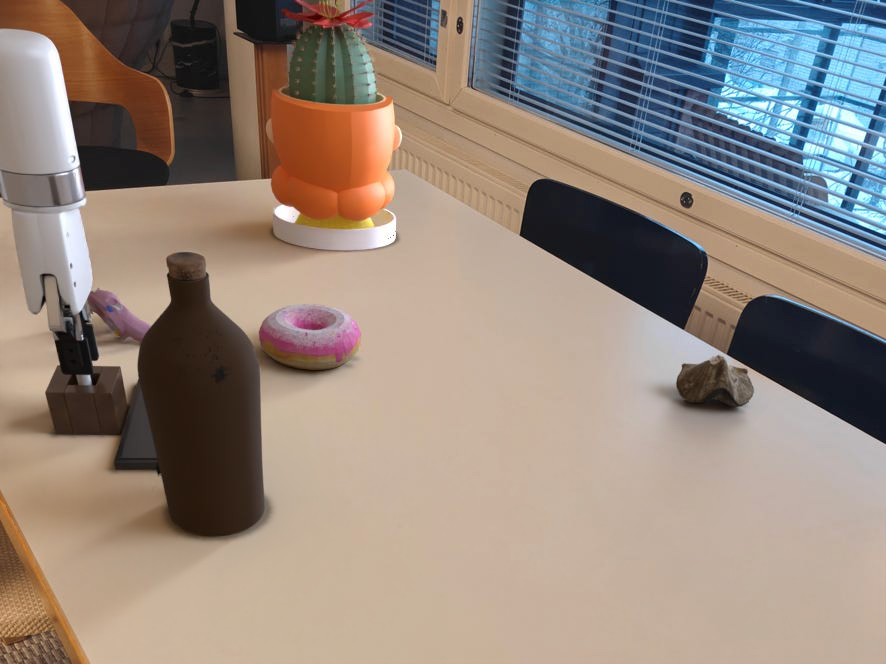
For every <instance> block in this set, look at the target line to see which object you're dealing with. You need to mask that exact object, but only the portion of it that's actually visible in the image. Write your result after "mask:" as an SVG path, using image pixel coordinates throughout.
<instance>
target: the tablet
mask: <svg viewBox="0 0 886 664" xmlns="http://www.w3.org/2000/svg"><path fill="white" fill-rule="evenodd" d="M157 464H158V459H157V455H156V450H155V446H154V442H153V437H152V433H151V428H150V424H149V420H148V415H147V411H146V407H145V403H144V399H143V394H142V390H141V386H140V382H139V377H138V379H137V381H136V385H135V388H134V393H133V395H132V399H131V403H130V405H129V409H128V413H127V416H126V420H125V423H124V427H123V430H122V433H121V437H120V440H119V444H118V447H117V451H116V454H115V458H114V461H113V465H114V469H115V470H156V465H157Z"/></svg>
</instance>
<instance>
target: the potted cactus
mask: <svg viewBox="0 0 886 664" xmlns="http://www.w3.org/2000/svg"><path fill="white" fill-rule="evenodd" d="M292 1H293V2H295V3H297V4H298V5H300V6H302V7H303V8H305V9H307V10H309V13H307V12H298V13H296V12H293V11H290V10H288V9H286V8H282V9H281V15H283V16H285V17H286V18H289V19H292V20H295V21H300V22H304V23H308V24H306V26H305V25H303V26H302V25H301V27H300V30H301V32H302V34H301V33H300V31H298V32H297V33H295V35H296V36H297V41H295V40H292V42H291V45H290V46H292V47H293V48H294V49H293V51H292V50H291V49H290V48H288V50H289V51H288V50H286V52H287V54H288V57H289V56H290V57H291V58H290V61H289V60H287V61H286V63H285V66H287V67H284V68H289V71H288V70H286V71H284V72H283V74H284V76H286V77H287V78H288V81H286V80H285V85H284V86H282V87H280V88H279V89H278V88H272V90H271V100H270V118H269V119H268V120H267V122H266V125H265V133H266V136H267V139H268V140H269V141H270V142H271V143H272V144H274V148H275V152H276V154H277V156H278V160H279V161H280V165H278V166H277V167H276V168H275V169H274V170H273V173H272V175H271V179H270V180H271V181H270V187H271V192H272V194H273V196H274V198H275V199H276V200H277V201H278V202H279V205H277V206H275V207H274V208H273V209H272V212H271V213H272V228H273V229H272V230H273V235H274V236H275V237H276V238H277V239H279V240H281V241H282V242H283V241H284V242H286V243H288V244H291V245H295V246H299V247H304V248H310V249H318V250H325V251H326V250H327V251H365V250H372V249H378V248H381V247H385V246H388V245H390V244H392V243H393V242H395V240H396V232H397V231H396V227H397V226H396V225H397V217H396V214H394V212H392V211H390V210H388V209H386V208H385V207H387V206H388V205H389V204H390V203H391V202H392V200H393V198H394V195H395V189H396V188H395V182H394V178H393V177H392V175H391V174H390V173H389V172H388V171H387V170H388V167H389V165H390V163H391V159H392V154H393V151H395V150H397V149H398V148H399V147H400V145H401V143H402V139H403V135H402V129H400V127H399V126H398V125H397V124H395V122H396V121H395V120H396V119H395V109H394V101H393V98H392V96H390V95H388V96H385V95H384V94H383V93H381V92H379V91H377V90H379V87H377V85H376V84H378V85H380V81H381V80H376V79H377V78H379V76H377V77H375V74H379V71H378V66H377V67H375V68H374V65H373V64H372V63H374V62H376V58H375V56H374V54H372V53H373V51H371V50H372V48H369V46H370V45H368V46H367V48H366V46H365V45H366V44H367V43H369V40H367V37H365V35H363V37H364V38H362V39H361V37H360V36H361V34H363V32H364V31H363V32H362V31H361V30H359V29H367V28H371V26H373V23H372V21H371V20H368V19H370V18H372V17H375V16H376V14H375V13H374V12H372V11H360V12H357V13H356V12H355V11H356V10H359V9H361V8H363V7H364V6H365V5H366V4H368V3H370V2H375V0H365V1H361V2H360V3H359V4H357V5H356V6H354V7H352V8H351V9H348V10H346V11H344V12H342V10H340V9H339V8H340V7H342V6H343V4H342V2H339V1H337V0H336V2H335V4H336V6H337V7H335V6H333V3H332V0H326V2H325V1H324V0H322V2H321V0H319V2H318V3H315V4H312V5H310V4H308V3H307V2H306V1H304V0H292ZM329 4H330V5H329ZM353 12H355V13H353ZM352 13H353V14H352ZM354 29H357V30H356V31H354ZM366 40H367V41H366ZM370 54H371V56H370ZM376 87H377V88H376ZM298 215H299V216H298ZM293 216H294V217H293ZM371 218H374V219H377V220H380V221H383V222H385V223H387V224H384V223H381V222H379V221H375V220H372V219H371ZM395 231H396V232H395ZM393 235H394V236H393ZM390 237H391V238H390ZM388 238H389V239H388Z"/></svg>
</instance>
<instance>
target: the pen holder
mask: <svg viewBox="0 0 886 664" xmlns="http://www.w3.org/2000/svg"><path fill="white" fill-rule="evenodd" d="M93 369H94V371H93V374H92V375H90V378H91V382H92V385H78V381H77V377H76V375H65V374H63V373H62V371H61V367H60V364H57V365H56V368H55V370H54V372H53V374H52V376H51V378H50V381H49V383H48V385H47V387H46V388H45V389H46V390H45V392H44V394H45V398H46V402H47V406H48V409H49V410H48V411H49V414H50V417H51V423H52V426H53V430H54V434H55V435H120V434H121V430H122V427H123V424H124V420H125V418H126V415H127V411H128V407H129V405H128V399H127V394H126V393H127V392H126V389H125V384H124V383H125V382H124V378H123V372H122V367H121V366H120V365H93Z"/></svg>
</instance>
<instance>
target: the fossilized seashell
mask: <svg viewBox="0 0 886 664" xmlns="http://www.w3.org/2000/svg"><path fill="white" fill-rule="evenodd" d="M748 374H749V370H748V368H745V367H737V366H734V365H731V364H730V365H729V363H728V361H727V359H726V358H725V357H724V356H723V355H722V354H717V355H712V356H711V357H710V358H709V359H707V360H704V361H702V362H700V363H685V362H683V363H682V364H681V370H680V372H679V373H678V375H677V378H676V382H675V384H676V389H677V391H678V393H679V395H680V397H681V398H682V400H684V401H686V402H689V403H694V404H697V403H704V402H708V401H712V400H713V399H714V400H715V399H716V400H718V401H719V402H722V403H724V404H725V405H727V406H729V407H732V408H733V407H734V408H739V407H743V406H745V405H747V404H748V403H749V402H750V400H751V399H752V398H753V397H754V393H755V387H754V385H753V383H752V380H751V378H750V376H749V375H748Z"/></svg>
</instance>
